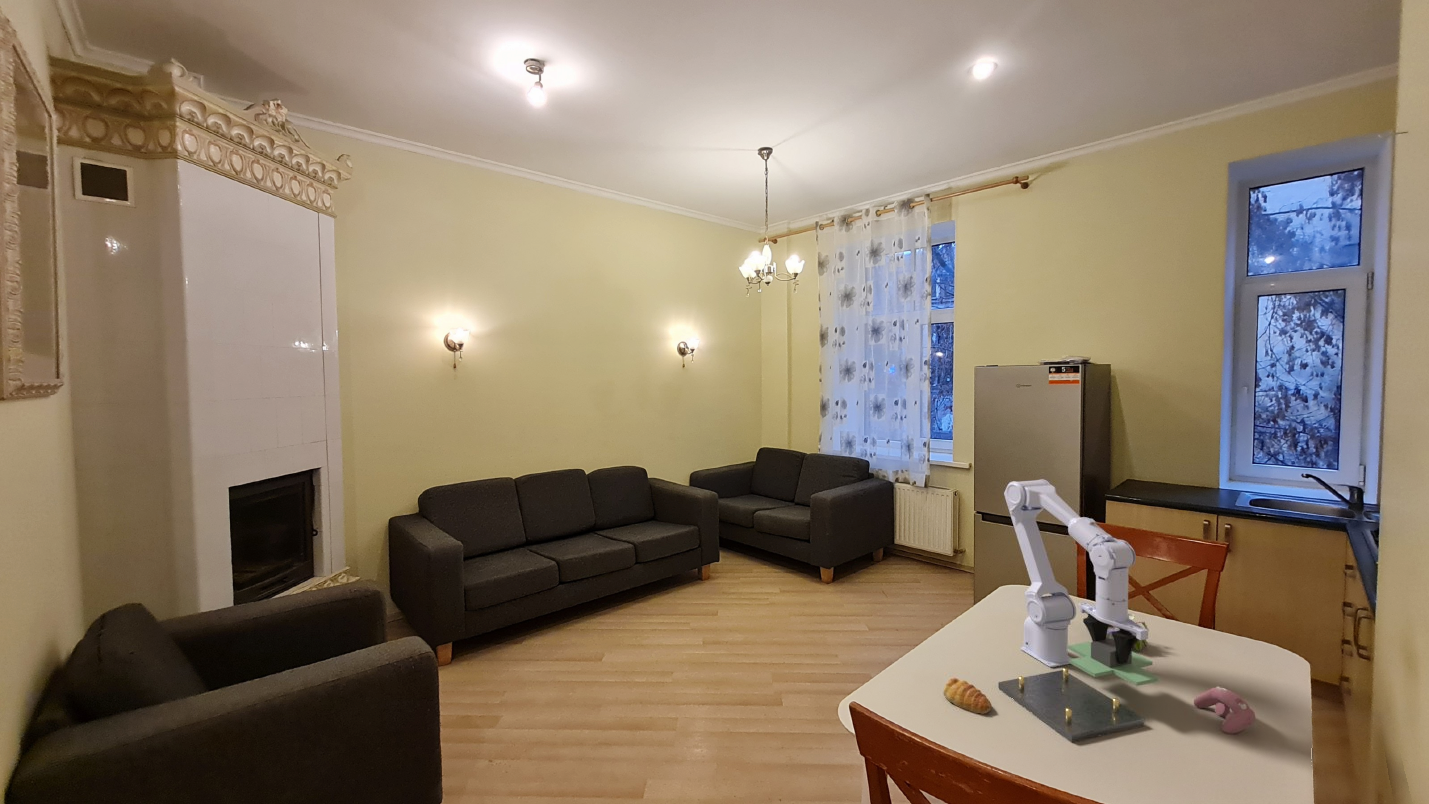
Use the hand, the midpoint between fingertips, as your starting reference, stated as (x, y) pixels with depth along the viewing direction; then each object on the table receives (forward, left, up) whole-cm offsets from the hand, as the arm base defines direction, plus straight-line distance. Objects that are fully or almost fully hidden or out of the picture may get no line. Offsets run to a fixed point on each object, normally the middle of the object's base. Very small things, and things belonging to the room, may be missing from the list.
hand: (1110, 656), depth 122 cm
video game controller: (+13, +14, -9) cm, 21 cm away
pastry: (-7, -31, -9) cm, 33 cm away
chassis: (+1, -12, -9) cm, 15 cm away
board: (0, 0, -2) cm, 2 cm away
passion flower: (-18, +24, -9) cm, 31 cm away
